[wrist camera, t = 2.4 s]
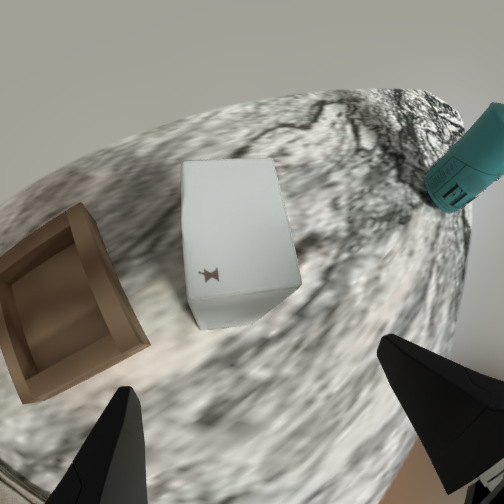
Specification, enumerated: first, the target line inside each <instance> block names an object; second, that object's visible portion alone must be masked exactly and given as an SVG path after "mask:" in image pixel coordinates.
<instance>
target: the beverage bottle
mask: <svg viewBox="0 0 504 504" xmlns="http://www.w3.org/2000/svg"><path fill="white" fill-rule="evenodd" d="M458 140H459V139H458ZM453 144H454V143H453ZM447 151H448V150H447ZM443 155H444V154H443ZM443 155H442V156H443ZM442 156H441V157H442ZM441 157H440V158H439V159H440V160H439V159H438V160H439V161H438V160H437V161H438V162H437V163H436V162H435V165H434V166H433V167H432V166H431V169H430V168H429V169H430V170H429V171H428V172H427V174H426V176H425V186H426V189H427V191H428V193H429V195H430V197H431V199H432V200H433V202H434V203H435V204H436V205H437V206H438V207H439V208H440V209H441V210H443V211H444V212H447V213H453V212H456V211H459V209H462V208H461V207H463V206H464V207H465V206H466V205H467V204H468V203H469V202H471V201H472V200H473V199H475V198H476V196H477V195H478V194H479V193H481V192H482V191H483V190H484V189H486V188H487V187H488V186H489V185H490V184H492V183H493V182H494V181H496V180H497V179H499V177H500V176H501V175H503V174H504V104H501V103H493V102H492V103H491V104H490V106H489V107H488V108H487V110H486V111H485V112H484V113H483V114H482V115H481V117H480V118H479V119H478V120H477V121H476V122H475V123H474V124H473V125H472V127H471V128H470V129H469V130H468V131H467V132H466V133H465V134H464V135H463V137H462V138H460V140H459V141H457V142H456V143H455V144H454V145H452V148H451V149H450V150H449V151H448V152H447V153H446V154H445V155H444V156H443V157H442V158H441ZM466 203H467V204H466ZM465 204H466V205H465Z"/></svg>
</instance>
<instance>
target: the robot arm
mask: <svg viewBox="0 0 504 504" xmlns="http://www.w3.org/2000/svg"><path fill="white" fill-rule="evenodd" d="M377 357H378V359H379V361H380V363H381V366H382V368H383V370H384V372H385V375H386V377H387V379H388V381H389V384H390V386H391V388H392V389H393V391H394V393H395V395H396V397H397V398H398V400H399V402H400V404H401V405H402V407H403V409H404V411H405V413H406V414H407V416H408V418H409V420H410V422H411V423H412V425H413V427H414V429H415V431H416V433H417V435H418V436H419V438H420V440H421V442H422V444H423V446H424V448H425V450H426V452H427V454H428V456H429V458H430V460H431V462H432V464H433V466H434V468H435V470H436V472H437V474H438V476H439V478H440V480H441V482H442V484H443V486H444V489H445V491H446V493H447V494H448V495H449V494H451V493H453V492H454V491H456V490H458V489H460V488H461V487H463V486H464V485H466V484H468V483H469V482H471V481H472V480H474V479H475V478H477V477H478V478H477V479H476V480H475V481H474V482H473V483H472V484H471V485H470V486H469V487H468V490H467V495H466V499H465V503H464V504H504V381H501V380H497V379H495V378H492V377H489V376H486V375H483V374H480V373H478V372H476V371H473V370H471V369H469V368H466V367H464V366H462V365H460V364H458V363H455V362H453V361H451V360H449V359H447V358H444V357H442V356H440V355H438V354H436V353H433V352H431V351H429V350H427V349H425V348H423V347H420V346H418V345H416V344H414V343H412V342H410V341H407V340H405V339H403V338H401V337H399V336H397V335H395V334H387V335H385V336H383V337H382V338H381V341H380V344H379V346H378V349H377ZM44 504H148V501H147V487H146V467H145V441H144V433H143V424H142V414H141V405H140V401H139V399H138V397H137V395H136V393H135V392H134V390H133V388H132V387H131V386H121V387H119V388H118V390H117V391H116V393H115V394H114V396H113V397H112V399H111V400H110V402H109V403H108V405H107V407H106V408H105V410H104V411H103V413H102V414H101V416H100V418H99V419H98V421H97V422H96V424H95V426H94V427H93V429H92V430H91V432H90V434H89V435H88V437H87V439H86V440H85V442H84V443H83V445H82V447H81V448H80V450H79V452H78V453H77V455H76V457H75V458H74V460H73V463H71V465H70V467H69V468H68V470H67V472H66V473H65V475H64V476H63V478H62V480H61V481H60V483H59V484H58V485H57V487H56V488H55V490H54V491H53V492H52V494H51V495H50V496H49V498H48V499H47V500H46V502H45V503H44Z"/></svg>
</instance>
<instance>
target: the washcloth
mask: <svg viewBox="0 0 504 504" xmlns="http://www.w3.org/2000/svg"><path fill="white" fill-rule="evenodd" d="M48 498H49V497H47V496H45V495H44V494H42V493H41V492H39V491H38V490H36V489H34V488H33V487H31V486H30V485H28V484H27V483H25V482H24V481H22V480H21V479H20V478H18V477H17V476H16V475H15V474H13V473H12V472H11V471H9V470H8V469H7V468H6V467H4V466H3V465H2V464H1V463H0V504H44V503H45V502H46V500H47V499H48Z"/></svg>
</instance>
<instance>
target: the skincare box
mask: <svg viewBox="0 0 504 504" xmlns="http://www.w3.org/2000/svg"><path fill="white" fill-rule="evenodd" d="M181 229H182V247H183V260H184V274H185V285H186V294H187V300H188V304H189V306H190V308H191V310H192V313H193V315H194V317H195V320H196V322H197V325H198V327H199V329H200V330H211V329H222V328H229V327H237V326H244V325H252V324H254V323H255V322H256V321H258V320H259V319H260V318H262V317H263V316H264V315H265V314H267V313H268V312H269V311H271V310H272V309H273V308H274V307H276V306H277V305H278V304H280V303H281V302H282V301H283V300H285V299H286V298H287V297H288V296H289V295H291V294H292V293H293V292H294V291H296V290H297V289H298V288H299V287H300V286H301V285H302V280H301V275H300V270H299V265H298V261H297V256H296V251H295V247H294V242H293V238H292V234H291V229H290V225H289V221H288V217H287V213H286V209H285V205H284V202H283V198H282V194H281V190H280V186H279V182H278V178H277V174H276V170H275V166H274V162H273V159H272V158H242V159H213V160H188V161H183V162H182V163H181Z"/></svg>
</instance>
